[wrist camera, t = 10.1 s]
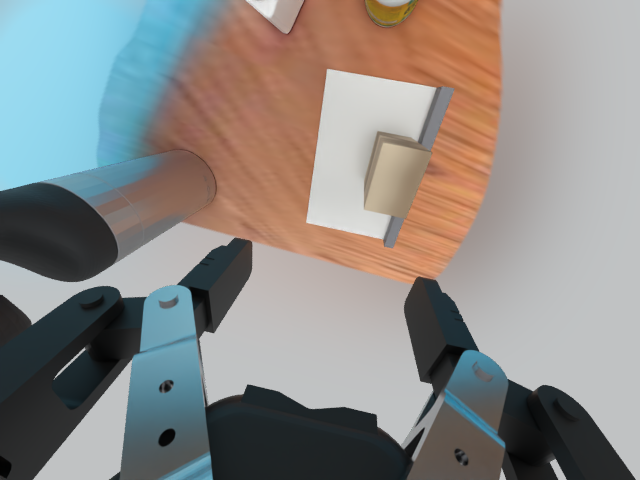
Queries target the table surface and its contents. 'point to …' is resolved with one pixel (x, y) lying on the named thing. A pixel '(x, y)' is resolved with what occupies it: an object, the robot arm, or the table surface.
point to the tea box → (394, 174)
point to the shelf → (365, 145)
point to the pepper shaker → (278, 12)
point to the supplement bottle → (389, 11)
